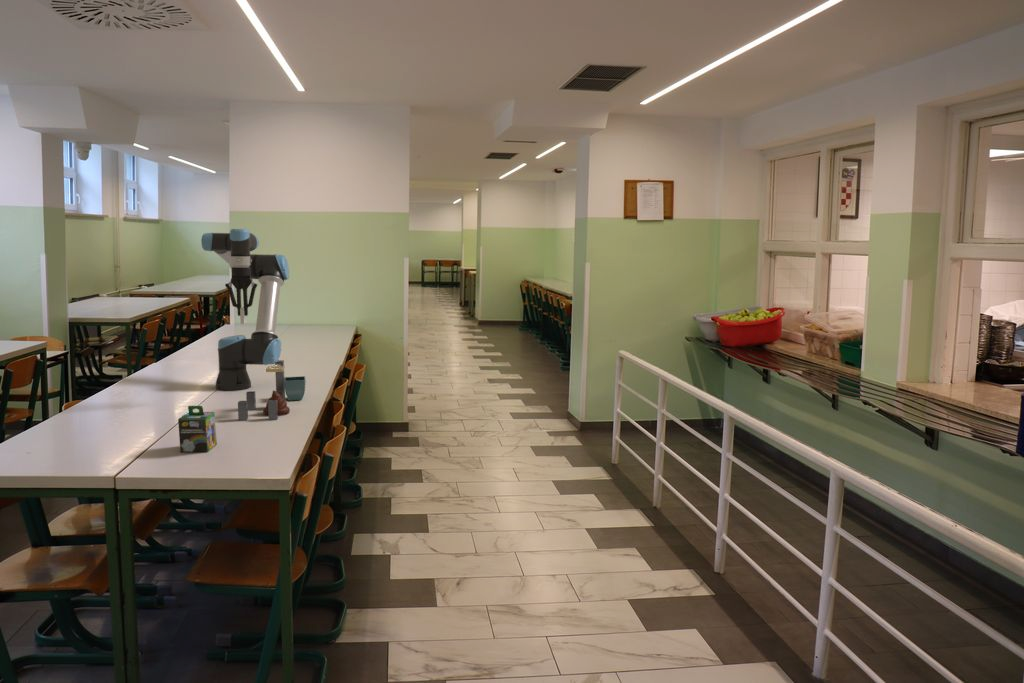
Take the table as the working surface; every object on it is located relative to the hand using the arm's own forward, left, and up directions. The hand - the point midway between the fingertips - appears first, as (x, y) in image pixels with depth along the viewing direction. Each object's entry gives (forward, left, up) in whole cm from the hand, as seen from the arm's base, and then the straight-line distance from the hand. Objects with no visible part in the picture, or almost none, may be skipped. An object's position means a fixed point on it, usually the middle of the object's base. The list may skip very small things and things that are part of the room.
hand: (243, 323), depth 333 cm
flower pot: (+20, +3, -33) cm, 38 cm away
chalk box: (+11, -73, -33) cm, 81 cm away
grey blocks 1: (+10, -25, -32) cm, 42 cm away
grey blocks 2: (+21, -23, -32) cm, 45 cm away
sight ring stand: (+20, -18, -32) cm, 42 cm away
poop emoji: (+21, -23, -33) cm, 45 cm away
